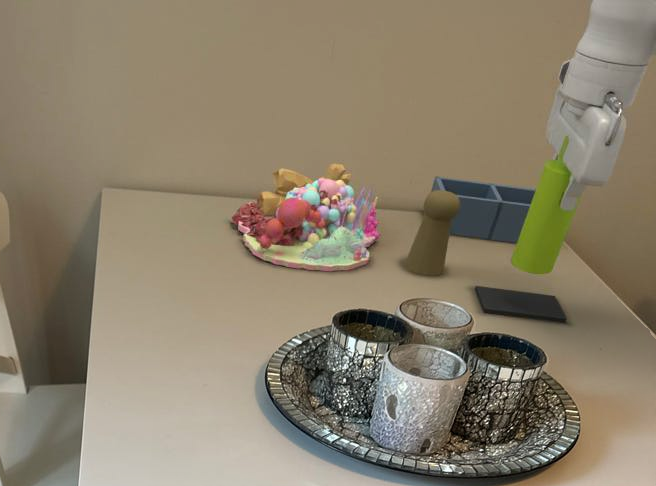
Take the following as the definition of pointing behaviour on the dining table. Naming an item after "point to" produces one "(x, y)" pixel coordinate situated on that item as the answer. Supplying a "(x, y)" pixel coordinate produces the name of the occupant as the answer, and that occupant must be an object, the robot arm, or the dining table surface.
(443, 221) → the olive game pawn
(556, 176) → the soap dispenser
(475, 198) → the box
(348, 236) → the candy landscape model
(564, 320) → the mat
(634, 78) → the robot arm
